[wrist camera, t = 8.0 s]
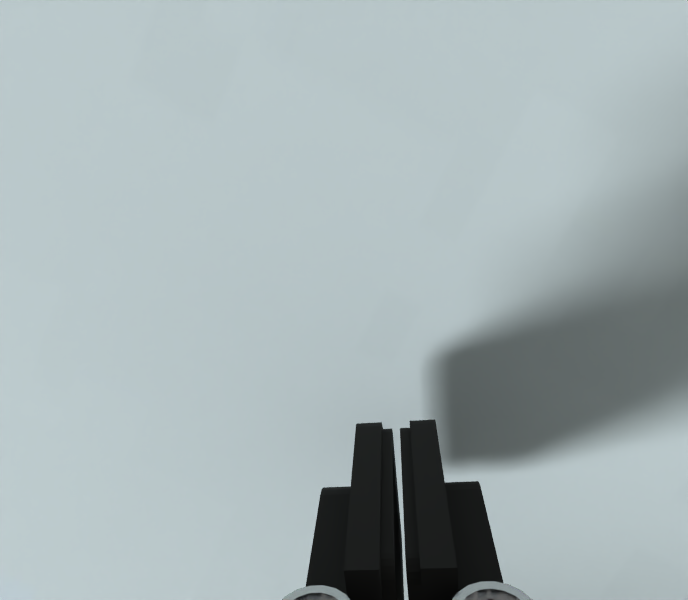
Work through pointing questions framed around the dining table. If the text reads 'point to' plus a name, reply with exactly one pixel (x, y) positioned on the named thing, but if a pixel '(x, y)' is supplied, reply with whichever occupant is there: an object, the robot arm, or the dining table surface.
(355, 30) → the dining table surface
